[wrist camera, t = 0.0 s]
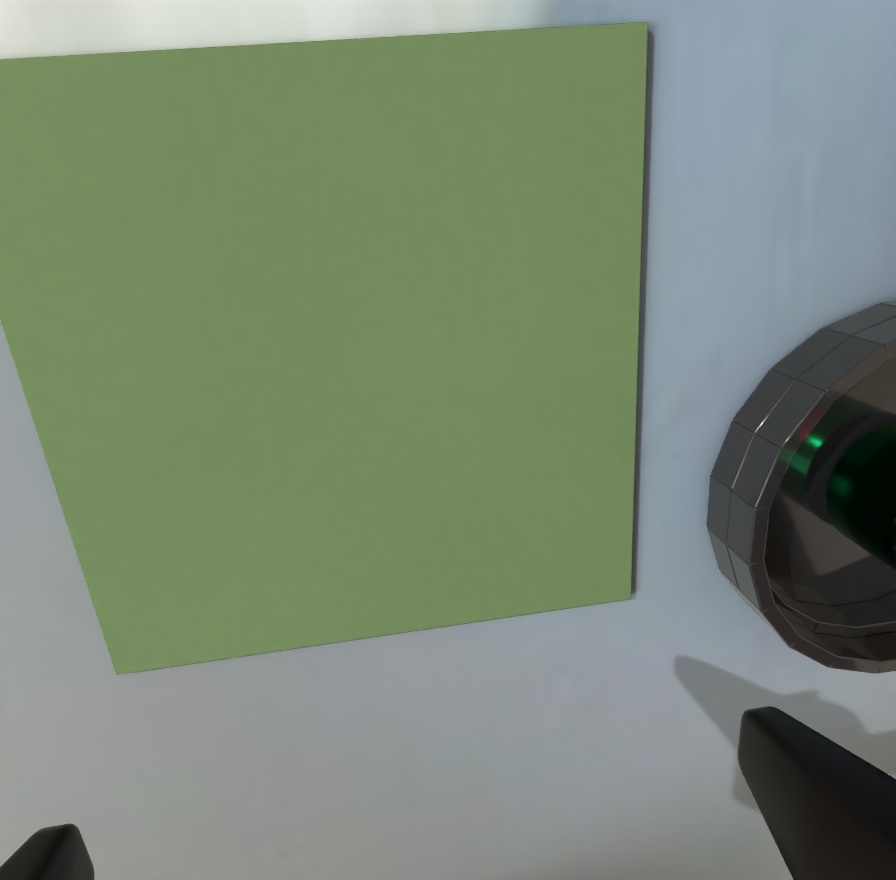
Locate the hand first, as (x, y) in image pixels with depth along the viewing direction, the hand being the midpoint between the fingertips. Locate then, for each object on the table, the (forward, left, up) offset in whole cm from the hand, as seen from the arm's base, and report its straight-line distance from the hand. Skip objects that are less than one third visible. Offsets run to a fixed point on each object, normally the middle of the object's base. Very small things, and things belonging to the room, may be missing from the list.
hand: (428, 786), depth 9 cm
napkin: (+2, +1, -15) cm, 15 cm away
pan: (-4, -19, -15) cm, 24 cm away
